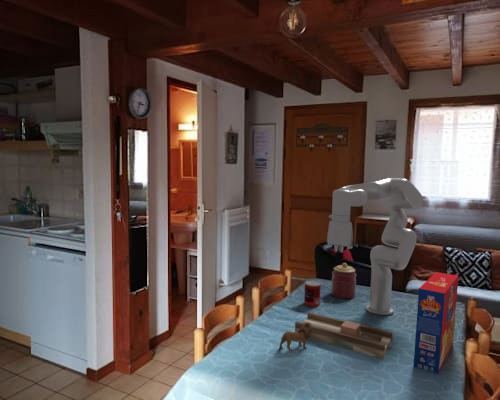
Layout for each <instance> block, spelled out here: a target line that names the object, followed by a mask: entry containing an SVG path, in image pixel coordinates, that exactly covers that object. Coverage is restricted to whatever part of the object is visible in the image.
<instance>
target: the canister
mask: <svg viewBox="0 0 500 400" xmlns="http://www.w3.org/2000/svg"><path fill="white" fill-rule="evenodd" d="M331 275H332V277H331V289H330V292H331V295H332V296H333V297H335V298H337V299H338V298H339V299H347V300H348V299H354V298H355V297H356V293H357V292H356V289H357V288H356V287H357V285H356V284H357V279H356V277H357V276H358V275H357V273H356V269H355V268H354V267H353V266H351V265H350V266H349V265H348V264H347V263H346V262H342V264H339V265H336V266H335V267H333V271H331Z"/></svg>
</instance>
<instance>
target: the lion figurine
mask: <svg viewBox="0 0 500 400" xmlns="http://www.w3.org/2000/svg"><path fill="white" fill-rule="evenodd" d="M302 325H303V326H302V327H301V329H300V330H299V331H297V332H295V331H286V332H284V333H283V334H282V336H281V339H280V342H279V348H278V352H279V351H281V350H282V349H284V347H283V346H282V345H283V344H284V343H286V348H287V349H288V351H289V352H291V353H292V352H293V351H294V350H293V349H291V347H290V346H291V344H292V342H295V343H297V342H298V346H299V347H302V348H303V349H304V350H307V348H308V347H306V344H307V341H308V340H310V339H309V338H310V336H311V333H312V325H311V323H308V322H305V323H304V324H302Z"/></svg>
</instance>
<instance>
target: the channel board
mask: <svg viewBox="0 0 500 400" xmlns="http://www.w3.org/2000/svg"><path fill="white" fill-rule="evenodd" d="M345 321H346V320H343V319H338V318H335V317H331V316H326V315H322V314H318V313H315V312H310V311H309V312H307V317H306V318H304V319H303V320H302V322H301V321H295V322H294V332H297V331H299V330H300V329H301V327H302V326H303V325H302V324H304V323H305V322H308V323H311V325H312V333H311V336H310V338H309V339H308V340H314V341H317V342H319V343H324V344H328V345H331V346H335V347H339V348H342V349H346V350H350V351H354V352H356V353H360V354H363V355H367V356H371V357H374V358H377V359H381V360H384V358H385V357H386V355H387V353H388V352H389V350H390V349H391V347H392V345H393V332H392V331H389V330H386V329H385V330H384V329H380V328H376V327H371V326H368V325H366V324H365V325H364V324H361V326H360V335H359V336H358V337H356V336H352V335H348V334H344V333H340V330H341V325H342V324H343V323H344V322H345Z"/></svg>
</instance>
